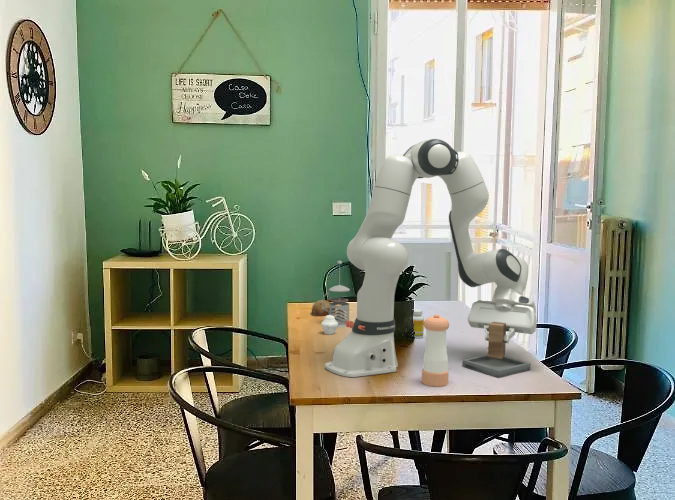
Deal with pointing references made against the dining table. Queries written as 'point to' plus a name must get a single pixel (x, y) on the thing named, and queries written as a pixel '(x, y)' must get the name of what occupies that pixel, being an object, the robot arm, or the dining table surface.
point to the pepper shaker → (435, 352)
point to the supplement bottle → (418, 323)
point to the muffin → (329, 324)
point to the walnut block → (496, 340)
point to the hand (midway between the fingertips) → (496, 340)
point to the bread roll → (321, 308)
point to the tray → (496, 365)
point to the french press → (339, 301)
